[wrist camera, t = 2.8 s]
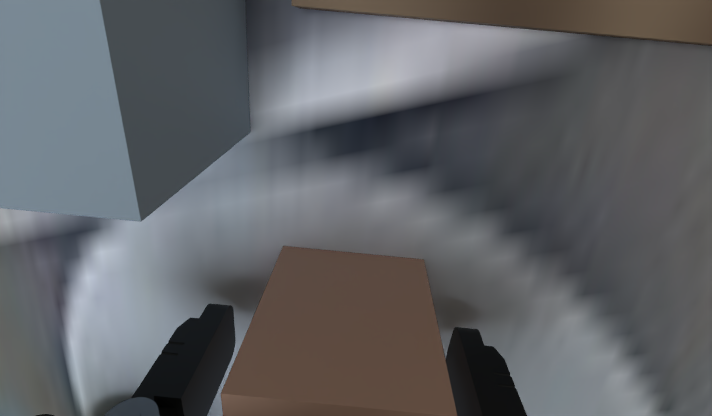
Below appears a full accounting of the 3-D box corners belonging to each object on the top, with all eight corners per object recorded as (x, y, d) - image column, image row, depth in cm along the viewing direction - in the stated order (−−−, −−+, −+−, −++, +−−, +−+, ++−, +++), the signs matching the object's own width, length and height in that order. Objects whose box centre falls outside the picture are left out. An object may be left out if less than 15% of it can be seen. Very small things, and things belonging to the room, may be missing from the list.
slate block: (243, -65, 9) (64, -193, 4) (250, 131, 12) (140, 221, 6) (46, -83, 9) (-398, -235, 4) (90, 116, 12) (-160, 192, 6)
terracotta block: (423, 258, 13) (457, 416, 8) (403, 360, 15) (420, 539, 10) (283, 245, 13) (220, 393, 8) (283, 348, 15) (234, 520, 10)
